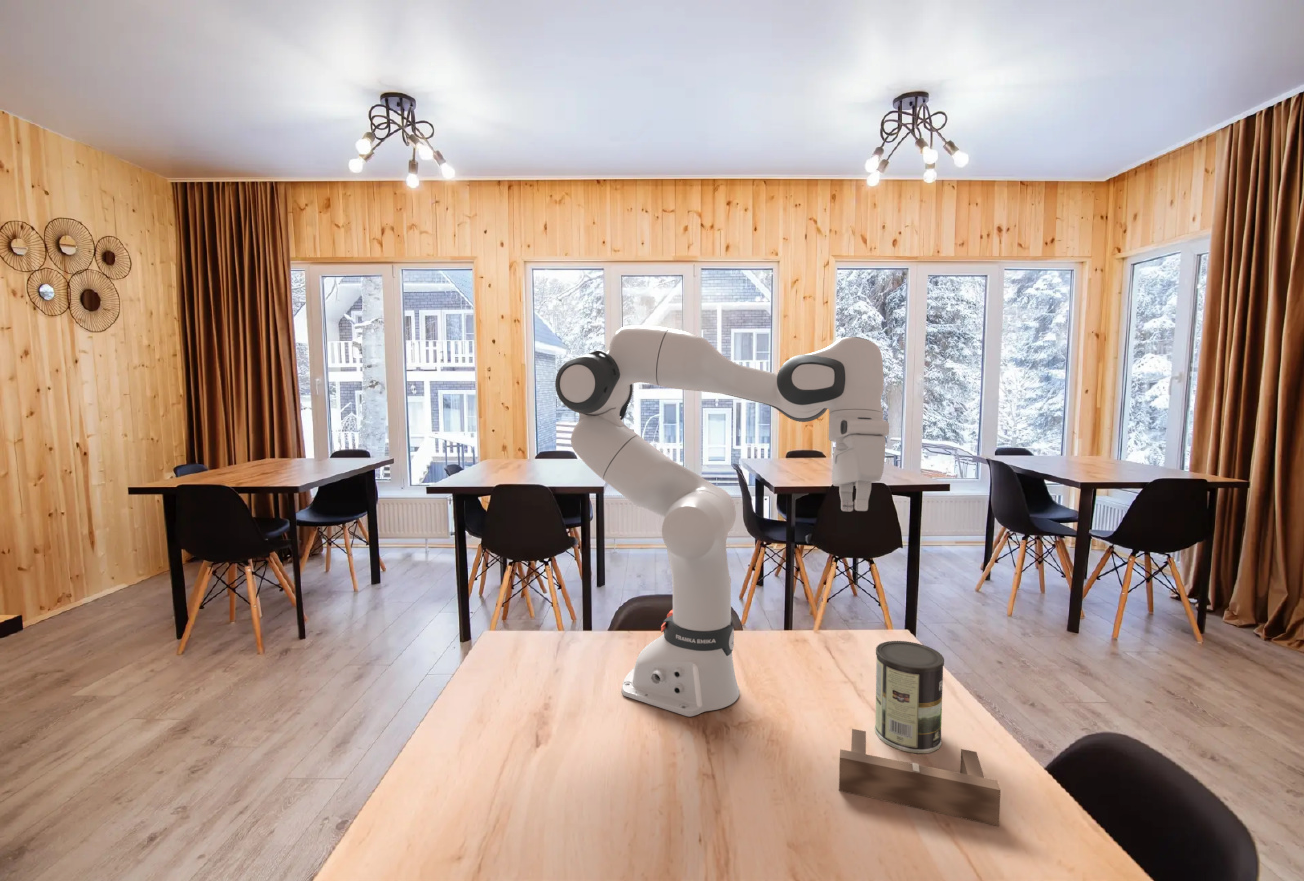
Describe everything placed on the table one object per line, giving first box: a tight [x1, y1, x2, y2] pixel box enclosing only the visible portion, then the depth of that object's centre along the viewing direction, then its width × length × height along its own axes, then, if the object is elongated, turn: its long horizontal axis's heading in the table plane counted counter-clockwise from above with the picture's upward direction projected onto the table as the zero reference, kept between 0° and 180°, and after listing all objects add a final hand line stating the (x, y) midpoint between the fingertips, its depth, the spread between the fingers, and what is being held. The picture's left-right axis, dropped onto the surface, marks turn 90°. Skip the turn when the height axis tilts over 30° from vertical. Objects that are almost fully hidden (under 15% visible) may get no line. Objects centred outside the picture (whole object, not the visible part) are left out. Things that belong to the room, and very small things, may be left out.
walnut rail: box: [838, 728, 1001, 827], centre depth 82 cm, size 20×8×5 cm, turn 69°
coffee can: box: [874, 640, 945, 754], centre depth 95 cm, size 10×10×14 cm
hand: (853, 511), depth 97 cm, fingers open, 8 cm apart
